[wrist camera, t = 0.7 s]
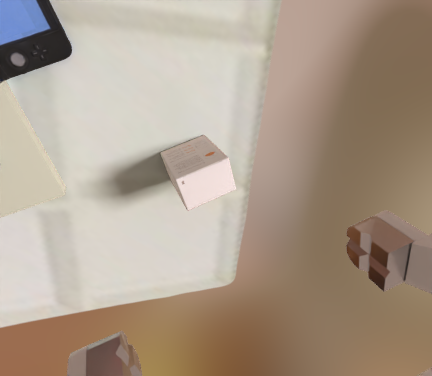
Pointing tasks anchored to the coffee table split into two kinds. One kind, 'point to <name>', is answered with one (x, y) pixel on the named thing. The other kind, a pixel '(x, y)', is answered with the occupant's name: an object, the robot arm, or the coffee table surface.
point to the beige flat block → (23, 160)
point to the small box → (198, 171)
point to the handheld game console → (30, 37)
